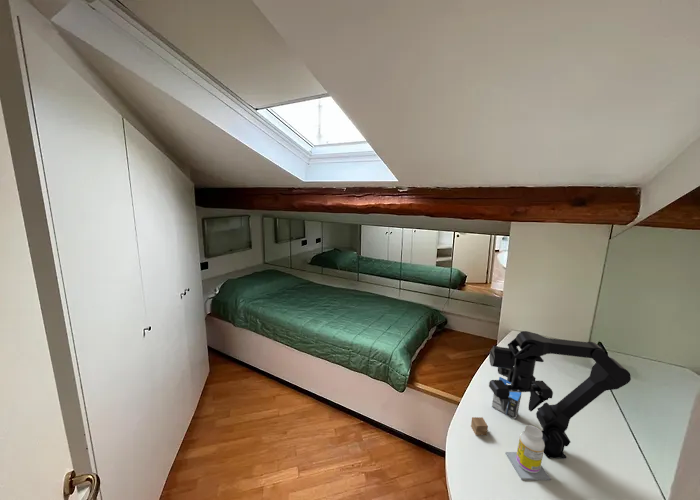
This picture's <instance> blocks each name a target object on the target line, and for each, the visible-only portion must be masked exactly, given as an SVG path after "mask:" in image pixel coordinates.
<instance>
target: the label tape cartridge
mask: <svg viewBox="0 0 700 500" xmlns="http://www.w3.org/2000/svg"><path fill="white" fill-rule="evenodd" d="M498 380H502V381H503V382H504V384H505V385H511V382H509V381H508V380H507V378H504V377H501V376H498ZM522 393H523V392H510V394H509V396H508V397H509V402H508V405H507V408H506V410H505V411H503V410H502V407H501V403H500V399H499V398H498V397H496V395H495V394H494V393H493V396H492V403H491V407H492V408H493V409H494V410H497V411H498V412H501V413H503V414H504V415H507V416H508V417H510V418H511V419H514V420H515V419H516V418H517V416H518V414H519V409H520V404H521V399H522Z"/></svg>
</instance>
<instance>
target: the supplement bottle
mask: <svg viewBox="0 0 700 500" xmlns="http://www.w3.org/2000/svg"><path fill="white" fill-rule="evenodd" d="M542 437H543V433H542V430H541V429H540V428H538V427H537V426H534V425H531V424H528V425H525V428H524V431H522V432H521V433H520V434H519V440H518V445H517V451H516V452H517V456H516V460H517V463H518V464H519V466H520V467H521V468H522V469H524V470H525V471H527V472H530V473H537V472H539V471H540V467H541V466H542V461H543V455H544V447H545V444H544V441H543V440H542Z"/></svg>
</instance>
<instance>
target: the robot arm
mask: <svg viewBox="0 0 700 500" xmlns="http://www.w3.org/2000/svg"><path fill="white" fill-rule="evenodd" d="M518 347H519V348H518ZM519 349H520V350H519ZM549 354H550V355H560V356H561V355H562V356H567V357H569V356H570V357H577V358H586V359H592V360H593V361H594V362H595V363H594V364H593V366H591V369H590V373H589V376H588V377H587V378H586V379H585V380H583V381H582V382H581V383H580V384H579V385H578V386H576V387H575V388H574V389H573V390H572V391H570V392H569V393H568V394H567V395H566V396H564V397H563V398H562V399H561V400H560V401H558V402H557V403H555V404H549V403H548V402H546V401H549V399H553V395H554V391H553V389H551V387H550V386H549V385H548V384H547V383H545V381H544V380H536V379H537V378H536V377H535V376H534V372H535V367H536V362H538V363H543V362H544V359H543V358H542V357H543V356H546V355H549ZM488 360H489V365H490V366H491V367H494V368H497V374H498V375H501V376H503V377H505V378H506V380H508V381H509V382H511V384H507V385H505V384H504V382H503V381H502V380H499V379H492V380H491V379H490V380H489V382H488V387H489V389H490V390H491V392H492V393H493V395H494V394H495V395H496V397H498V398H499V399H500V403H501V407H502V410H503V411H505V410H506V408H507V405H508V402H509V397H508V396H509V394H510V392H522V393H530V394H529V395H530V396H529V401H528V411H529V412H532V411H534V410H535V409H536V408H537V411H536V414H535V415H536V416H535V417H536V418H537V420H538V423H539V425H540V426H541V429H542V430H541V432H542V433H543V437H542V440H543V441H544V444H545V447H544V452H543V455H545V457H546V458H548V459H567V457H568V456H567V455H566V454H565V453H564V449H565V447H568V446H569V445H570V443H571V440H570V438H569V437H568V435H567V433H566V431H567V429H569V424H570V421H571V419H572V418H573V417H574V416H575V415H577V414H578V413H579V412H581V410H584V408H585V407H587V406H588V405H590V403H592V402H593V401H594V400H596V399H597V398H599V396H600V395H602V394H604V393H605V392H606V391H611V390H612V391H613V390H619V389H620V388H623V387H624V386H626V385H627V384H629V383H630V382H631V380H632V378H631V375H632V374H631V373H630V372H629V370H628V369H626V368H625V367H624V366H623V365H622V364H621V363H620V362H618V361H617V360H616V359H615V358H612V357H610V356H609V355H608V354H607V353H606V352H605V350H604V349H603V348H602V347H601V346H599V345H598V344H597V343H595V342H593V341H577V340H569V339H561V338H560V339H559V338H549V337H545V336H544V335H540V334H538V333H535V332H531V331H526V330H522V331H520V332H519V333H518V334H517V335H516V337H515V338H513V339H512V340H511V341H510V342H509V343H508V344H507V347H504V346H503V347H502V346H498V345H493V346H492V348H491V349H490V351H489V359H488ZM542 403H543V404H542ZM541 404H542V405H541ZM540 405H541V406H540ZM538 406H540V407H538Z"/></svg>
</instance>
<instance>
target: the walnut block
mask: <svg viewBox="0 0 700 500" xmlns="http://www.w3.org/2000/svg"><path fill="white" fill-rule="evenodd" d="M470 427H471V429H472V431H473V433H474V435H475V436H487V434H488V427H489V425H488V424H487V421H485V419H484V417H483V416H482V417H478V416H477V417H476V416H475V417H474V416H473V417H471V423H470Z"/></svg>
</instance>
